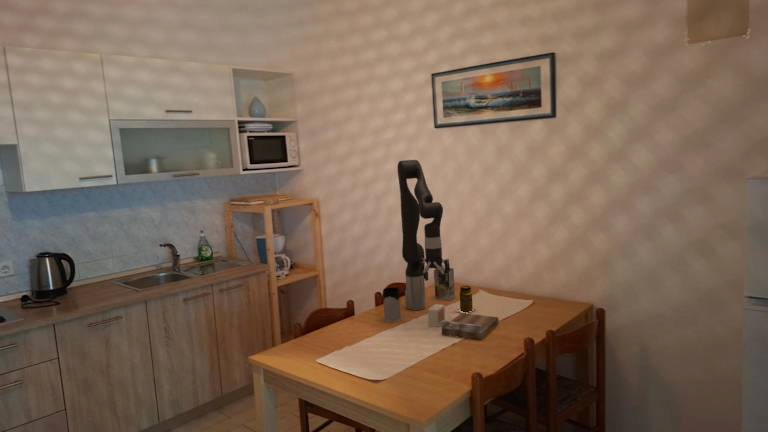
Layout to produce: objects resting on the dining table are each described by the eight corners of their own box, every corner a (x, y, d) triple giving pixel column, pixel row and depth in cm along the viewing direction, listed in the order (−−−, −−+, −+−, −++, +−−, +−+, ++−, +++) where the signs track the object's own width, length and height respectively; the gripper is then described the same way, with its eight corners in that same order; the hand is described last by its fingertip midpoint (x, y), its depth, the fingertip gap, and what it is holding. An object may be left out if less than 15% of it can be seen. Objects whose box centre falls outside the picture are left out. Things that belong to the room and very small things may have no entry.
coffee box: (455, 297, 281) (454, 268, 279) (450, 300, 276) (448, 271, 274) (440, 295, 286) (438, 267, 284) (434, 299, 281) (433, 269, 279)
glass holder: (381, 322, 248) (379, 292, 246) (388, 313, 262) (386, 284, 260) (399, 323, 246) (397, 292, 244) (405, 313, 260) (403, 284, 258)
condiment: (476, 310, 259) (475, 286, 257) (465, 314, 253) (464, 290, 251) (464, 307, 264) (463, 284, 262) (453, 311, 258) (452, 288, 256)
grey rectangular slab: (441, 334, 228) (441, 321, 227) (461, 319, 247) (460, 306, 246) (481, 340, 218) (480, 326, 218) (498, 323, 237) (498, 310, 236)
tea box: (428, 326, 240) (427, 309, 239) (435, 320, 247) (435, 304, 246) (438, 327, 238) (437, 310, 237) (445, 321, 244) (444, 305, 243)
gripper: (415, 247, 238) (417, 282, 240) (444, 248, 231) (446, 284, 233) (422, 244, 244) (424, 278, 246) (450, 245, 237) (452, 280, 239)
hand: (435, 281), depth 240 cm, fingers open, 8 cm apart
